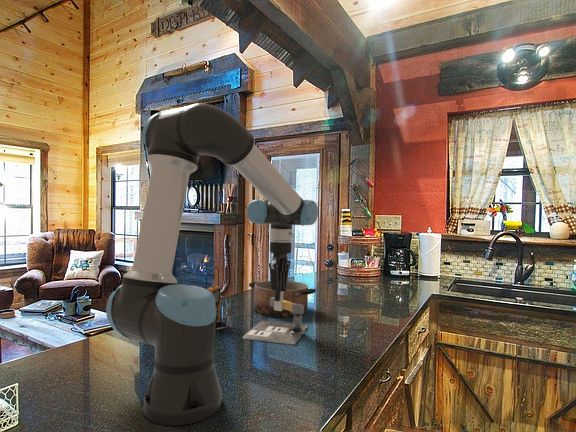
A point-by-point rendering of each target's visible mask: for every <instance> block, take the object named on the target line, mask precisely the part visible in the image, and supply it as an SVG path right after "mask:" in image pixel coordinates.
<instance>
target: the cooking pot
mask: <svg viewBox="0 0 576 432" xmlns="http://www.w3.org/2000/svg"><path fill="white" fill-rule="evenodd" d="M248 287H250V288H252V289H253V290H254V300H253V301H254V303H253V306H254V307H253V308H254V311H255V312H256V313H257V314H259V315H261V314H262V315H261V316H265V315H266V317H271V316H272V318H292V317H293V315H294V314H293V313H292V312H291V311H288V310H285V309H283V310H282V311H277V310H274V307H273V306H270V298H272V297H274V296H275V291H272V290H271V280H264V281H253V282H250V283H248ZM284 289H286V291H283V300H285V301H289V302H292V303H295V304H302V305H304V313H303V314H302V316H303V315H305V314H306V313H307V312H308V308H309V306H308V304H309V303H308V302H309V301H308V300H309V297H308V296H309V295H311V294H315V293H316V292H317V289H316V288H309V285H308V284H307V283H303V282H300V281H293V280H287V287H286V288H284Z"/></svg>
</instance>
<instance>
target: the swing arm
mask: <svg viewBox="0 0 576 432" xmlns="http://www.w3.org/2000/svg"><path fill="white" fill-rule="evenodd" d="M270 306H273V307H274V297H272V298H270ZM283 309H285V310H288V311H291V312H292V313H293V314H303V313H304V305H302V304H295V303H292V302H289V301H285V300H283ZM303 315H304V314H303Z"/></svg>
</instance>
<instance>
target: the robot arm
mask: <svg viewBox="0 0 576 432" xmlns="http://www.w3.org/2000/svg"><path fill="white" fill-rule="evenodd" d="M141 135H142V137H141V138H142V143H143V145H144V146H145V147H144V149H145V151H146V152H147V157H146V160H147V161H148V162H149V164H150V165H151V167H152V168H151V171H150V172H151V173H150V177H149V178H150V179H149V182H148V188H147V191H146V192H147V193H146V197H145V202H144V208H143V212H142V217H141V223H140V229H139V232H138V237H137V242H136V248H135V253H134V258H133V264H132V267H131V268H130V270H129V271H127V272H126V273H125V274H123V276H122V281H121V285H119V286H118V287H116V289H115V290H114V291H112V293H111V294H110V296H109V297H108V300H107V302H106V307H105V310H106V319H107V321H108V324H109V325H110V327H111V328H112V329H113V331H115V332H116V333H118V334H120V335H121V336H123V337H125V338H127V339H130V340H135V341H138V342H141V343H143V344H147V345H150V346H153V347H154V363H153V366H154V369H153V372H152V375H151V377H150V380H149V382H148V385H147V386H148V387H147V389H146V392H145V394H144V397H143V407H142V408H143V409H142V411H143V415H144V416H145V418H147V420H149V421H151V422H152V423H155V424H158V425H162V426H185V425H190V424H195V423H198V422H201V421H204V420H206V419H208V418H209V417H212V416H213V415H214V414H216V413H217V412H218V411H219V409H220V407H221V406H222V395H223V393H222V388H221V385H220V380H219V377H218V375H217V374H218V373H217V370H216V368H215V367H216V366H215V347H216V330H215V329H216V325H217V323H216V307H215V297H214V295H213V294H212V293H211V292H210V291H208V290H207V289H206V288H205V287H202V286H197V285H188V284H179V283H178V281H177V279H176V278H175V276H174V275H173V268H174V262H175V258H176V257H175V256H176V252H177V246H178V241H179V234H180V229H181V224H182V219H183V218H182V217H183V213H184V206H185V201H186V195H187V191H188V190H187V189H188V184H189V180H190V175H192V173H195V171H197V170H198V166H199V159H200V157H202V156H209V157H214V158H216V159H218V160H220V162H221V163H222V164H224V165H226V166H228V167H233V168H234V169H235V170H236V171H237V172H238V173H239V174H240V176H242V177H243V178H244V179H245V180H246V181H247V182H248V183H249V184H250V185H251V186H252V187H253V188H254V189H256V191H257V192H259V193H260V195H261V196H263V197H264V198H265V199H266V200H265V199H253V200H251V201H250V202H249V203H248V205H247V207H246V216H247V219H248V220H249V221H250V222H251V223H254V224H258V225H262V224H263V225H265V224H266V225H270V230H269V231H270V232H269V233H270V235H269V240H270V242H269V252H270V253H271V254H272V255H273V256H272V262H269V263H268V268H269V273H270V281H271V290H272V291H275V296H274V310H277V311H282V310H283V291H286V289H284V288H286V287H287V281H289V280H288V278H289V271H290V268H291V267H290V266H291V263H292V262H291V260H289V259H288V258H289V257H288V255H289V254H291V253H292V250H293V249H292V248H293V247H292V245H293V244H292V240H293V235H294V233H293V226H302V227H303V226H312V225H314V224H315V223H316V222H317V219H318V217H319V207H318V205H317V204H318V203H316V201H314V200H312V199H311V200H310V199H303V198H302V197H301V196H300V194H298V192H297V191H296V190H295V189H294V188H293V187H292V185H290V183H289V182H288V181H287V179H286V178H285V177H284V176H283V175H282V174H281V173H280V172H279V171H278V170H277V169H278V168H276V166H274V165H273V163H272V162H270V160H269V159H268V158H267V157H266V155H265V154H264V153H263V152H262V151H261V150H260V149H259V148H258V147H257V145H256V141H255V137H254V135H253V134H252V133H251V132H250V130H248V128H247V127H245V125H244V124H242V122H241V121H239V120H238V119H237V118H235V117H234V116H233V115H231V114H230V113H229V112H227V111H225V110H223V109H221V108H219V107H217V106H215V105H213V104H209V103H203V102H202V103H199V102H198V103H193V104H190V105H185V106H183V107H178V108H174V109H173V108H172V109H171V108H169V109H165V110H161V111H159V112H157V113H155V114H153V115H151V116H150V117H149V118H148V119H147V120H146V122H145V123H144V126H143V128H142V133H141Z"/></svg>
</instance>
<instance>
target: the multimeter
mask: <svg viewBox="0 0 576 432" xmlns="http://www.w3.org/2000/svg"><path fill="white" fill-rule="evenodd" d="M216 269H217V271H218V272H217V273H218V275H217V285H216V281H215V276H216V274H215V273H216V272H215V267H213V270H212V269H209V270H207V272H206V276H205V277H206V278H205V289H207V290H208V291H210V292H211V293H212V294H213V295H214V297H215V307H216V324H218V323H219V322H220V320H225V321H223V322H222V323H223V324H224V325H226V326H221V327H217V328H215V331H216V330H222V329H224V328H225V329H226V327H230V328H232V326H231V324H229V323H227V322H228V320H227V319H226V318H221V290H222V288H221V286H220V284H219V282H220V281H219V279H220V272H219V271H220V270H219V268H218V267H216ZM209 271H210V272H211V273H212V278H213V279H212V281H211V282H212V283H211V286H210V287H208V286H207V285H208V284H207V283H208V282H207V281H208V274H209ZM207 287H208V288H207Z"/></svg>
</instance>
